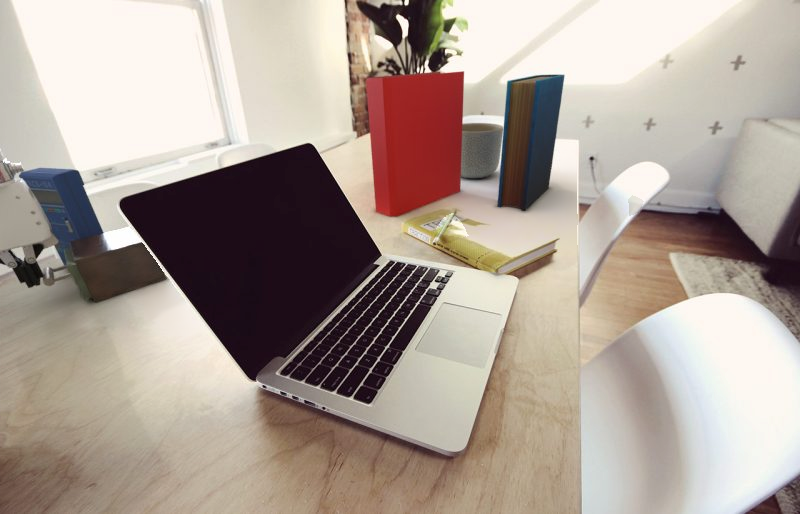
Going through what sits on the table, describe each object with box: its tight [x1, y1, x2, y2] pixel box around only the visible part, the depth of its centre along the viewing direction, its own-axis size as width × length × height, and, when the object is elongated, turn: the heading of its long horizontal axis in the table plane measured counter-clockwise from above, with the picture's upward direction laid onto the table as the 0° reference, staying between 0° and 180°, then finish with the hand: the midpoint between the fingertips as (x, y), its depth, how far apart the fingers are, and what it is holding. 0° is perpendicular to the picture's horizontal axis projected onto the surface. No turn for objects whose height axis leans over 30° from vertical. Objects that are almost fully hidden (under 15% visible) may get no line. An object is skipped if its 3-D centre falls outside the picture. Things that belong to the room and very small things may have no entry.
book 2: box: [497, 74, 566, 212], centre depth 101 cm, size 24×9×30 cm, turn 146°
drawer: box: [42, 247, 93, 301], centre depth 69 cm, size 14×9×7 cm, turn 131°
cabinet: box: [70, 226, 167, 303], centre depth 72 cm, size 11×10×8 cm
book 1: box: [365, 70, 465, 217], centre depth 100 cm, size 27×8×32 cm, turn 135°
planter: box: [461, 122, 504, 180], centre depth 124 cm, size 17×17×15 cm
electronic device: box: [18, 167, 105, 265], centre depth 75 cm, size 10×5×20 cm, turn 73°
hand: (34, 283), depth 64 cm, fingers closed
